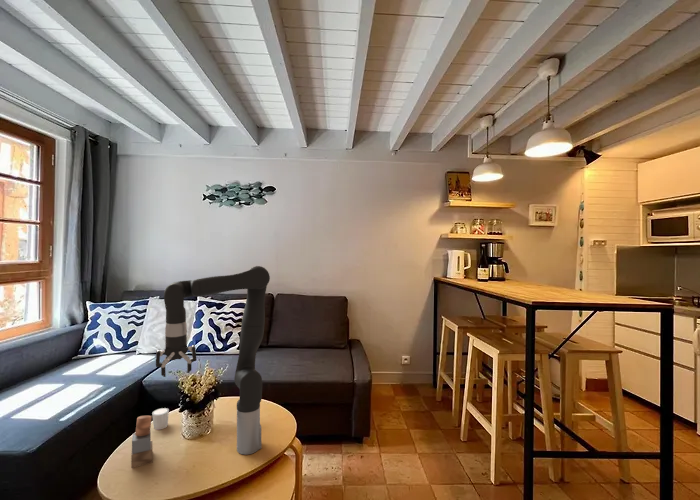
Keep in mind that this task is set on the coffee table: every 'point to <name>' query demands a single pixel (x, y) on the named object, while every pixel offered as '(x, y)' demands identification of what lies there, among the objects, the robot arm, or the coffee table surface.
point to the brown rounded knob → (143, 425)
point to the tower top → (141, 443)
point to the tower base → (142, 457)
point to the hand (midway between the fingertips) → (176, 374)
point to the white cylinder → (160, 418)
